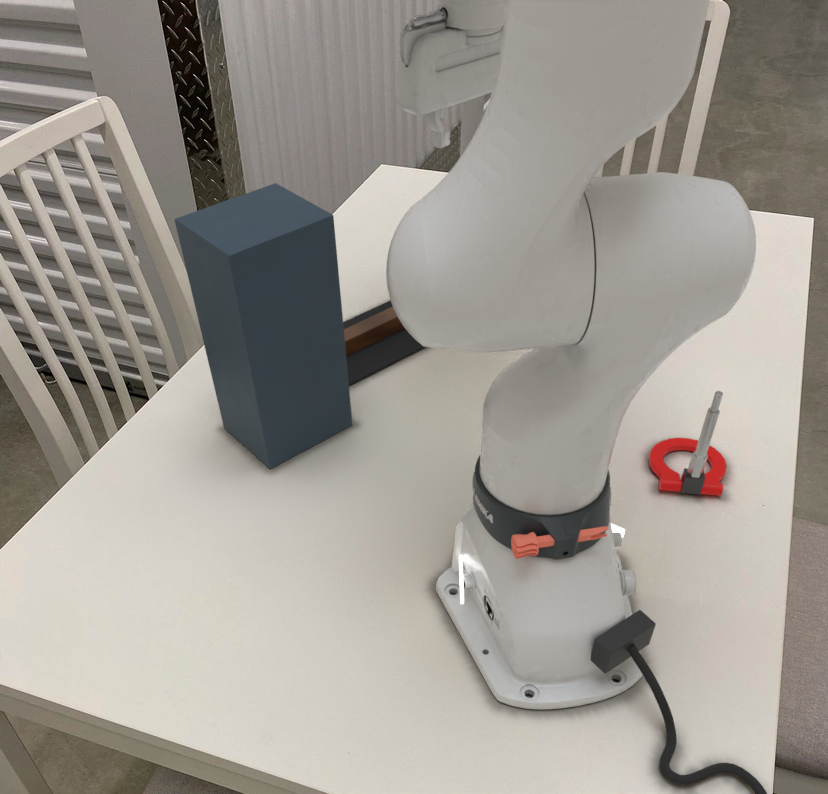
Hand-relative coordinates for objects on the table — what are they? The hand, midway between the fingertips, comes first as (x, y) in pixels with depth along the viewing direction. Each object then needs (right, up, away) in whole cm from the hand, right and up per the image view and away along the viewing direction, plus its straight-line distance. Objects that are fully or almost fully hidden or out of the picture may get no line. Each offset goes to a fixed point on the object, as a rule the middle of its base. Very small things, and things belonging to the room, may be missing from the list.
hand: (469, 135), depth 99 cm
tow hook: (+24, -41, -6) cm, 48 cm away
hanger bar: (-12, -21, +13) cm, 27 cm away
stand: (-22, -35, 0) cm, 41 cm away
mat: (-13, -22, +13) cm, 28 cm away
